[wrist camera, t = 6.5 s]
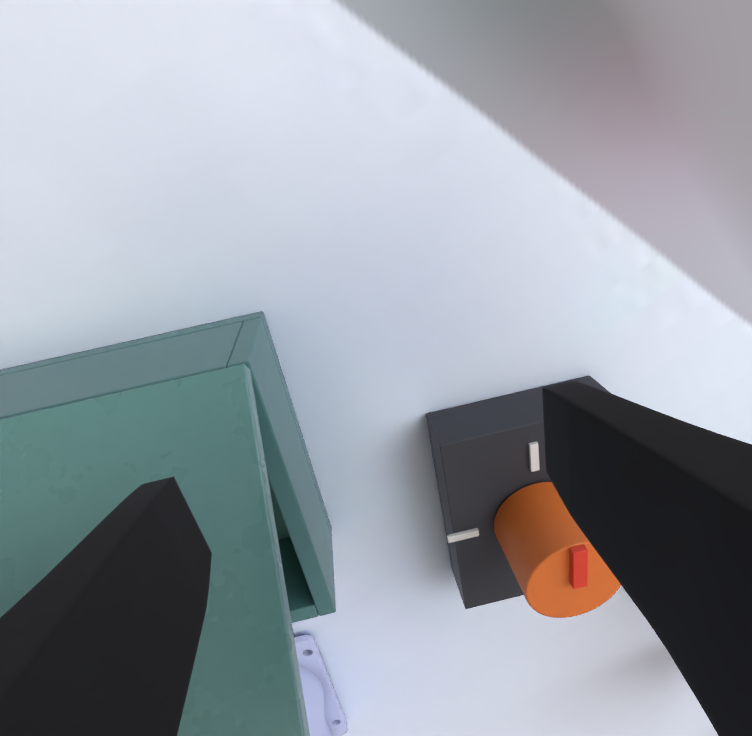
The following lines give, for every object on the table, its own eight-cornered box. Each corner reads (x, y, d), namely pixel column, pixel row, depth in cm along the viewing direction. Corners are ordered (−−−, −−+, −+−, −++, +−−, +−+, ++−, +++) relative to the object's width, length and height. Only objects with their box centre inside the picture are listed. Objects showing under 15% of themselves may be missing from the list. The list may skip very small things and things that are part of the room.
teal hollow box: (331, 527, 23) (336, 612, 19) (79, 587, 23) (27, 688, 19) (263, 310, 18) (249, 361, 14) (-62, 383, 18) (-178, 457, 14)
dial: (579, 538, 22) (629, 611, 19) (496, 559, 22) (531, 635, 18) (580, 471, 20) (634, 537, 17) (489, 493, 20) (526, 564, 17)
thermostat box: (592, 534, 26) (621, 574, 23) (446, 569, 25) (460, 614, 23) (596, 373, 21) (632, 402, 19) (418, 415, 21) (432, 449, 19)
